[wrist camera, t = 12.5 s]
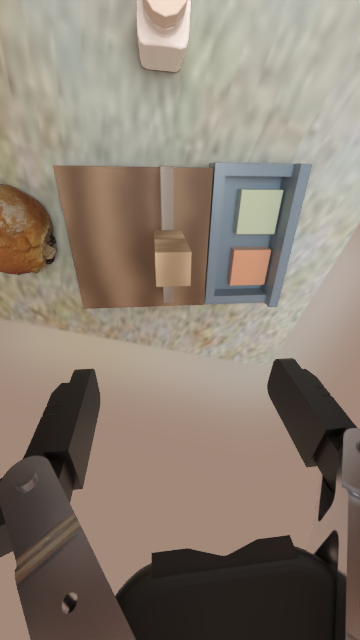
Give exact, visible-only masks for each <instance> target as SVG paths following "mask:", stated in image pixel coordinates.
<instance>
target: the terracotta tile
mask: <svg viewBox="0 0 360 640" xmlns="http://www.w3.org/2000/svg"><path fill="white" fill-rule="evenodd" d="M270 254H271V249H270V248H268V247H267V246H266V247H231V252H230V261H229V269H228V277H227V282H228V284H229V285H230V286H236V285H264V283H265V278H266V273H267V268H268V263H269V259H270Z"/></svg>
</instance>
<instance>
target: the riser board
mask: <svg viewBox="0 0 360 640" xmlns="http://www.w3.org/2000/svg"><path fill="white" fill-rule="evenodd" d="M53 168H54V172H55V177H56V182H57V186H58V191H59V196H60V200H61V205H62V209H63V214H64V219H65V223H66V228H67V233H68V237H69V242H70V246H71V251H72V256H73V260H74V265H75V270H76V274H77V279H78V283H79V288H80V293H81V297H82V302H83V307H84V309H88V308H118V307H147V306H176V305H204V293H205V279H206V265H207V250H208V236H209V222H210V208H211V193H212V179H213V168H175V167H173V220H174V230H181V231H182V233H183V235H184V237H185V239H186V241H187V243H188V245H189V248H190V250H191V252H192V255H191V283H190V286H174V302H167V303H164V299H163V287H156V268H155V242H154V230H161V204H160V168H159V167H108V166H53Z"/></svg>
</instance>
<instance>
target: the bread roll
mask: <svg viewBox="0 0 360 640" xmlns="http://www.w3.org/2000/svg"><path fill="white" fill-rule="evenodd" d="M55 243H56V241H55V238H54V237H53V226H52V224H51V221H50V219H49V215H48V214H47V212H46V211H45V209H44V208H43V206H42V205H41V204H40V203H39V202H38V201H37V200H35V199H34V198H32V197H31V196H30V195H27V194H25V193H23V192H22V191H20V190H18V189H16V188H14V187H11V186H9V185H1V184H0V272H4V273H9V274H18V275H20V274H23V273H29V272H35V273H38V272H39V270H40V269H41V268H42V267H43V266H45V265H46V264H51V263H52V262H53V261H54V258H55V257H54V255H55V254H56V247H54V244H55Z"/></svg>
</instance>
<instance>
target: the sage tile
mask: <svg viewBox="0 0 360 640" xmlns="http://www.w3.org/2000/svg"><path fill="white" fill-rule="evenodd" d="M282 195H283V190H280V189H238V193H237V202H236V210H235V218H234V226H233V232H234V233H235V234H274V233H275V229H276V224H277V219H278V214H279V209H280V205H281V200H282Z"/></svg>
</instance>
